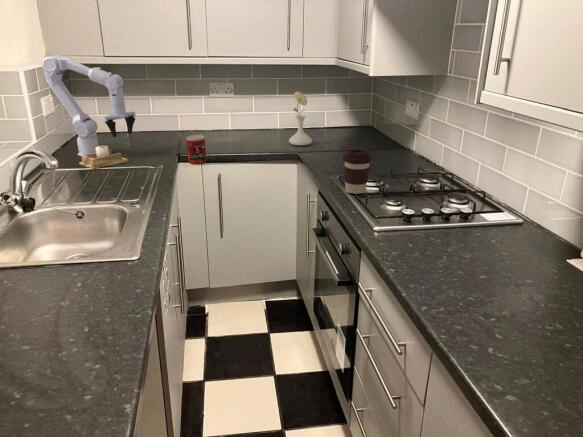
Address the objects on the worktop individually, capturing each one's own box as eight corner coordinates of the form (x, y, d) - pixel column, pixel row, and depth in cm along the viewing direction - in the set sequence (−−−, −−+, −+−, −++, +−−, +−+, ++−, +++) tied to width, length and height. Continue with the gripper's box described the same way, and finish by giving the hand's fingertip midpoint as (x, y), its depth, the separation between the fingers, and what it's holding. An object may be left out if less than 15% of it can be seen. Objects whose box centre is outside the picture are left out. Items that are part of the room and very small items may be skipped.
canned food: (189, 165, 199) (187, 140, 194) (188, 160, 206) (185, 135, 201) (207, 164, 201) (205, 138, 196) (205, 158, 208) (203, 134, 203)
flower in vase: (315, 146, 227) (316, 93, 217) (294, 148, 223) (294, 94, 213) (305, 139, 238) (305, 89, 228) (284, 142, 234) (283, 90, 224)
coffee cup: (366, 187, 174) (369, 147, 167) (371, 196, 164) (374, 155, 158) (339, 187, 173) (341, 147, 167) (343, 197, 164) (345, 155, 158)
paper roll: (95, 161, 202) (93, 147, 200) (106, 158, 205) (104, 144, 203) (101, 163, 199) (99, 149, 197) (112, 160, 202) (110, 146, 200)
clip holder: (79, 164, 201) (78, 155, 199) (113, 156, 212) (112, 147, 210) (93, 169, 194) (92, 160, 192) (128, 161, 205) (127, 152, 203)
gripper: (107, 107, 196) (112, 139, 202) (137, 102, 206) (141, 133, 211) (98, 105, 200) (103, 136, 206) (128, 101, 210) (133, 131, 216)
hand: (122, 135), depth 209 cm, fingers open, 7 cm apart
